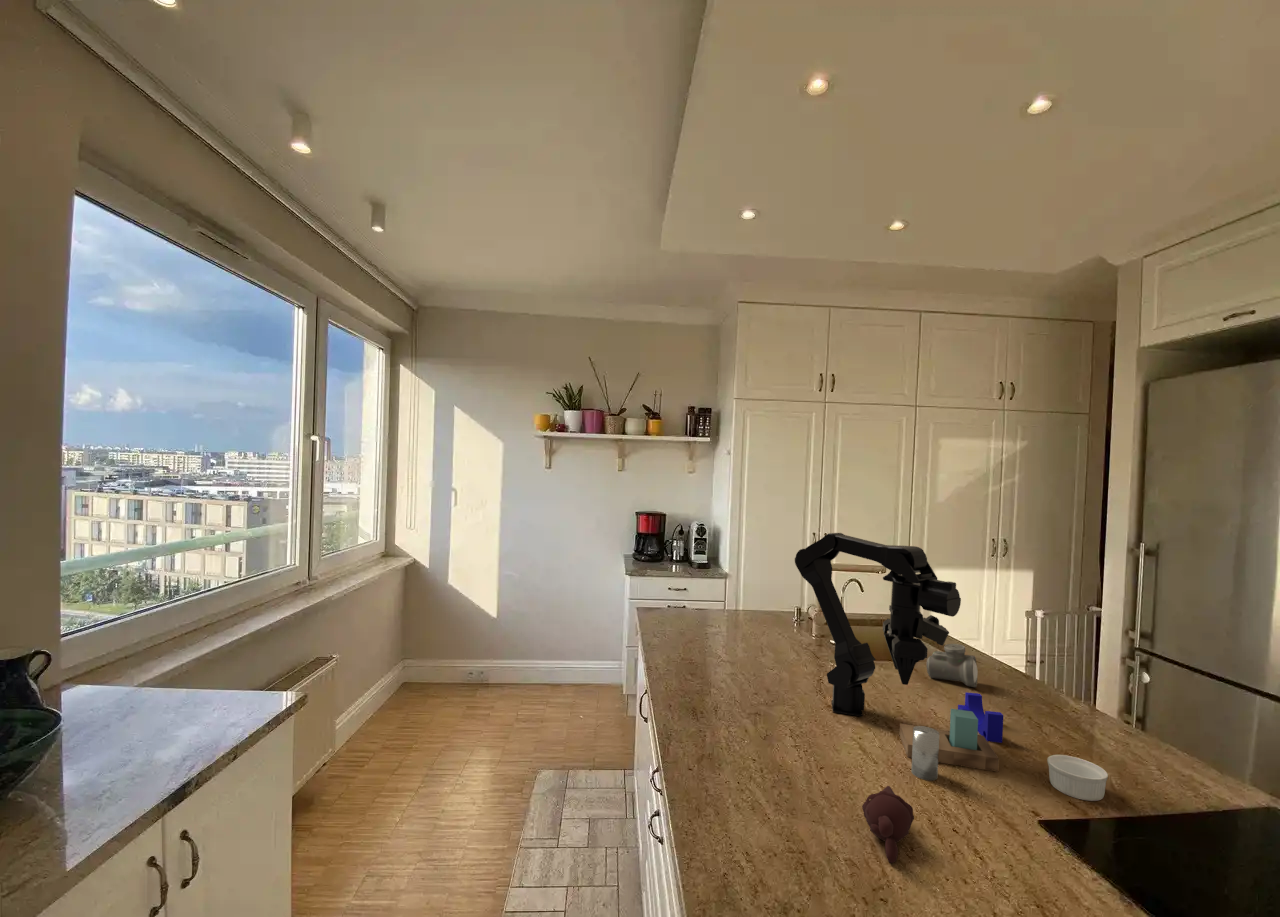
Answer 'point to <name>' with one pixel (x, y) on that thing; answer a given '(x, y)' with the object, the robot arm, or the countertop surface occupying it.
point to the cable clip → (984, 718)
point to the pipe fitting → (953, 665)
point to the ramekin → (1077, 777)
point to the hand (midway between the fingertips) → (901, 676)
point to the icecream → (888, 819)
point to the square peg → (963, 729)
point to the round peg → (925, 753)
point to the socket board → (955, 750)
